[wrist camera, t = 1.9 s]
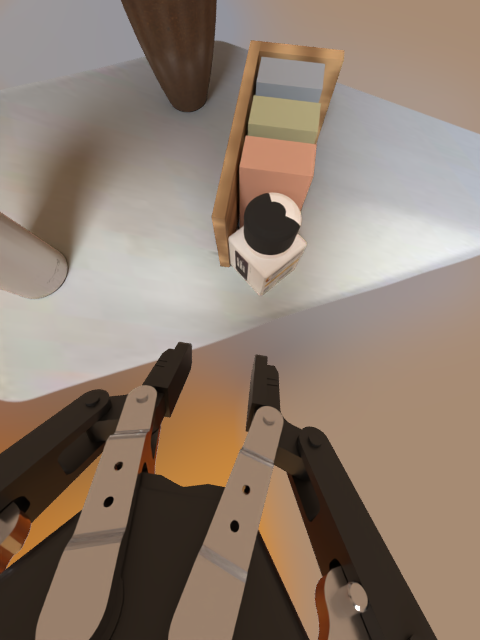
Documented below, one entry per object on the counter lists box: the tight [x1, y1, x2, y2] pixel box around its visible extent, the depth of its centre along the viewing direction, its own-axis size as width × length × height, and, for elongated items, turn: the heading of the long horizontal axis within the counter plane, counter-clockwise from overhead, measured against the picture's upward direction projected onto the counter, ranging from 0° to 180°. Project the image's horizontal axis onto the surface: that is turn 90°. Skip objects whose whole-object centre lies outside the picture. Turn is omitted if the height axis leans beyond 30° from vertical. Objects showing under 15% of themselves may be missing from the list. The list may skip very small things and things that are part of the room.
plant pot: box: [121, 0, 217, 112], centre depth 38 cm, size 15×15×16 cm
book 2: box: [248, 95, 321, 144], centre depth 35 cm, size 9×5×12 cm, turn 81°
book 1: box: [256, 57, 325, 103], centre depth 37 cm, size 9×5×12 cm, turn 81°
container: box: [228, 192, 307, 296], centre depth 31 cm, size 8×8×13 cm
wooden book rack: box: [212, 41, 344, 267], centre depth 34 cm, size 14×30×12 cm, turn 171°
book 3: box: [239, 136, 317, 228], centre depth 33 cm, size 9×5×12 cm, turn 81°
